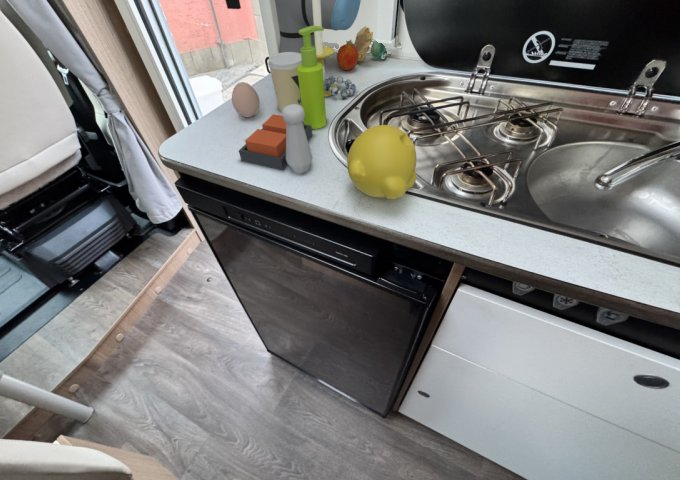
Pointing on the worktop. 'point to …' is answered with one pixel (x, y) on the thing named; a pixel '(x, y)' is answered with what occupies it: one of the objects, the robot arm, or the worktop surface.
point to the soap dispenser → (311, 82)
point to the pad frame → (268, 159)
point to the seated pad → (267, 142)
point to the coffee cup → (286, 78)
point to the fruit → (347, 56)
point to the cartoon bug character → (363, 44)
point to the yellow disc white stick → (320, 49)
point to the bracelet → (339, 81)
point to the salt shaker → (296, 139)
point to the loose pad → (275, 124)
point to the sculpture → (382, 162)
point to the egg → (245, 99)
